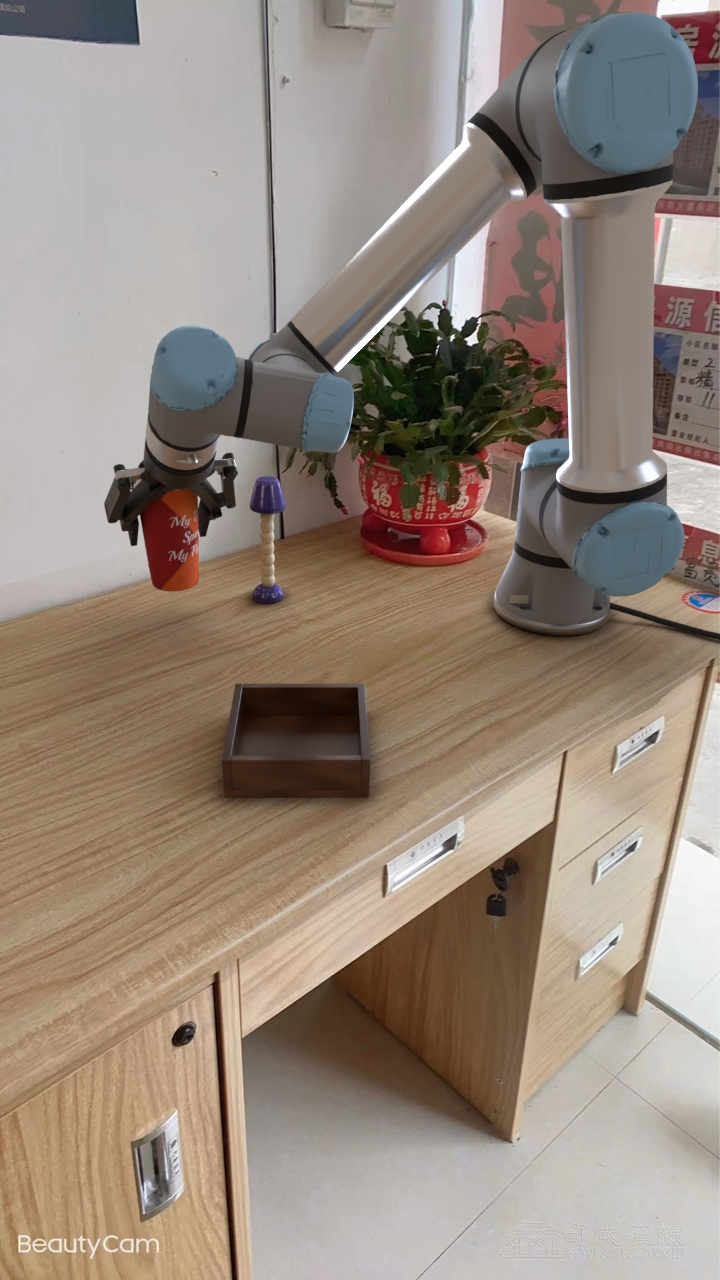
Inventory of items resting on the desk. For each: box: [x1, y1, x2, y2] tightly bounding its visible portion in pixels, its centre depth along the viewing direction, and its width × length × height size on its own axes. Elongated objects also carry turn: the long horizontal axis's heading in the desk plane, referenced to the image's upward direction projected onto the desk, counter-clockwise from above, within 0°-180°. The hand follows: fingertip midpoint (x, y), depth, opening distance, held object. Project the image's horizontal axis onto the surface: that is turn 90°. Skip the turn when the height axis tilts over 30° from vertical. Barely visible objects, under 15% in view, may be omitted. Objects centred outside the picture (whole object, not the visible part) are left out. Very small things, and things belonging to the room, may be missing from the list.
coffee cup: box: [134, 466, 200, 592], centre depth 111 cm, size 8×8×15 cm
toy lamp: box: [249, 475, 287, 604], centre depth 117 cm, size 5×5×17 cm
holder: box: [221, 683, 371, 798], centre depth 88 cm, size 14×14×4 cm
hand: (166, 531), depth 114 cm, fingers closed on coffee cup, 8 cm apart
